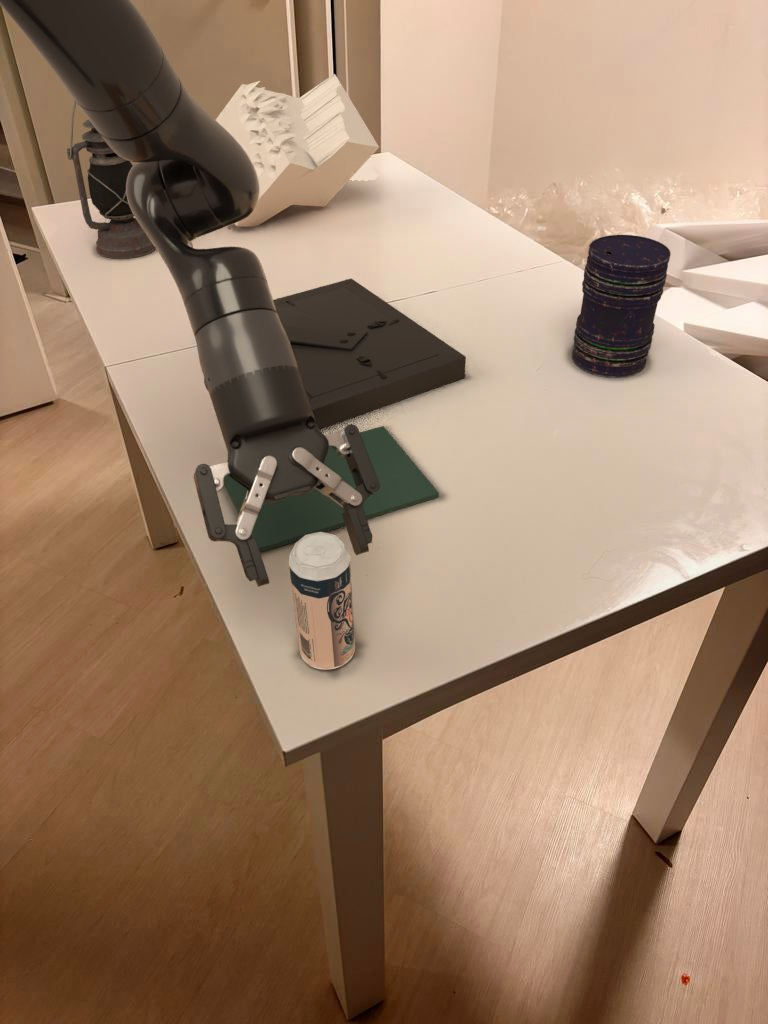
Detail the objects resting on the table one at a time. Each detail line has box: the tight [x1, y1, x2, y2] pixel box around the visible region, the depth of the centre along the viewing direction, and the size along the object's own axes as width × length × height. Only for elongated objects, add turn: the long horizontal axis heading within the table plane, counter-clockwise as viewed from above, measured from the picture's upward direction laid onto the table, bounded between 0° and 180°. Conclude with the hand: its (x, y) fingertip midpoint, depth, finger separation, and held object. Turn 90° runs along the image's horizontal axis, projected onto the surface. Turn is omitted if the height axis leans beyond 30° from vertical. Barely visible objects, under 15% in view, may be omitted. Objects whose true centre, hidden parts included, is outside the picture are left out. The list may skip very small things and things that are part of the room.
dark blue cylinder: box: [571, 234, 672, 379], centre depth 102 cm, size 10×10×15 cm
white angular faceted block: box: [215, 73, 380, 227], centre depth 142 cm, size 20×16×25 cm
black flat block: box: [273, 278, 467, 431], centre depth 107 cm, size 23×4×28 cm
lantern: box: [66, 99, 157, 260], centre depth 129 cm, size 12×11×30 cm
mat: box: [223, 425, 440, 553], centre depth 87 cm, size 20×14×1 cm
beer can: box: [288, 532, 356, 671], centre depth 65 cm, size 5×5×12 cm
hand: (314, 568), depth 65 cm, fingers open, 8 cm apart
